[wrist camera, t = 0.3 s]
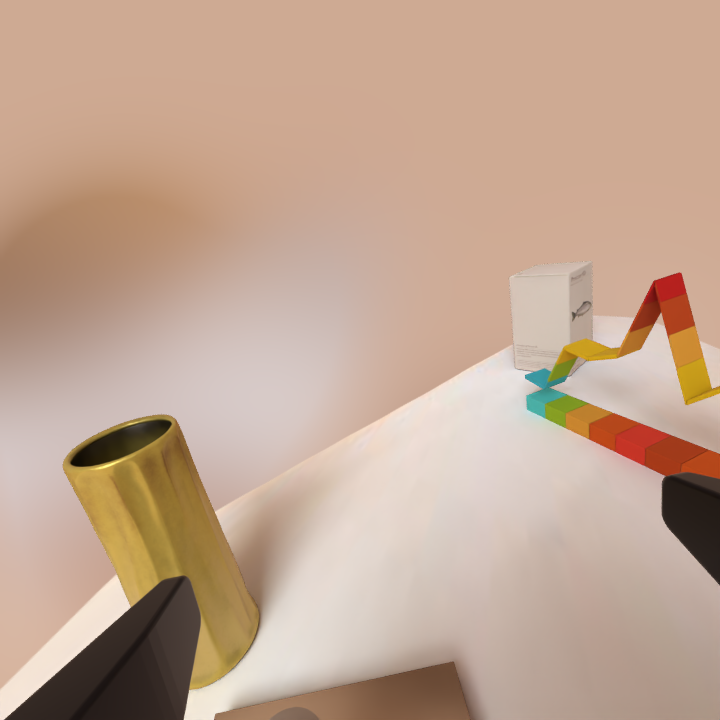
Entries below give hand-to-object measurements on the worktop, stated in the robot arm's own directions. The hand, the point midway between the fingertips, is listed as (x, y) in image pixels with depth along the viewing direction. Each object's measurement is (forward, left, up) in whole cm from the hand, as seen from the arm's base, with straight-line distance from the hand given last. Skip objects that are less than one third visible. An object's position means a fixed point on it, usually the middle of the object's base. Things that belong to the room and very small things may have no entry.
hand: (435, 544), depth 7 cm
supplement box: (+42, -25, -16) cm, 51 cm away
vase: (+13, +13, -16) cm, 25 cm away
